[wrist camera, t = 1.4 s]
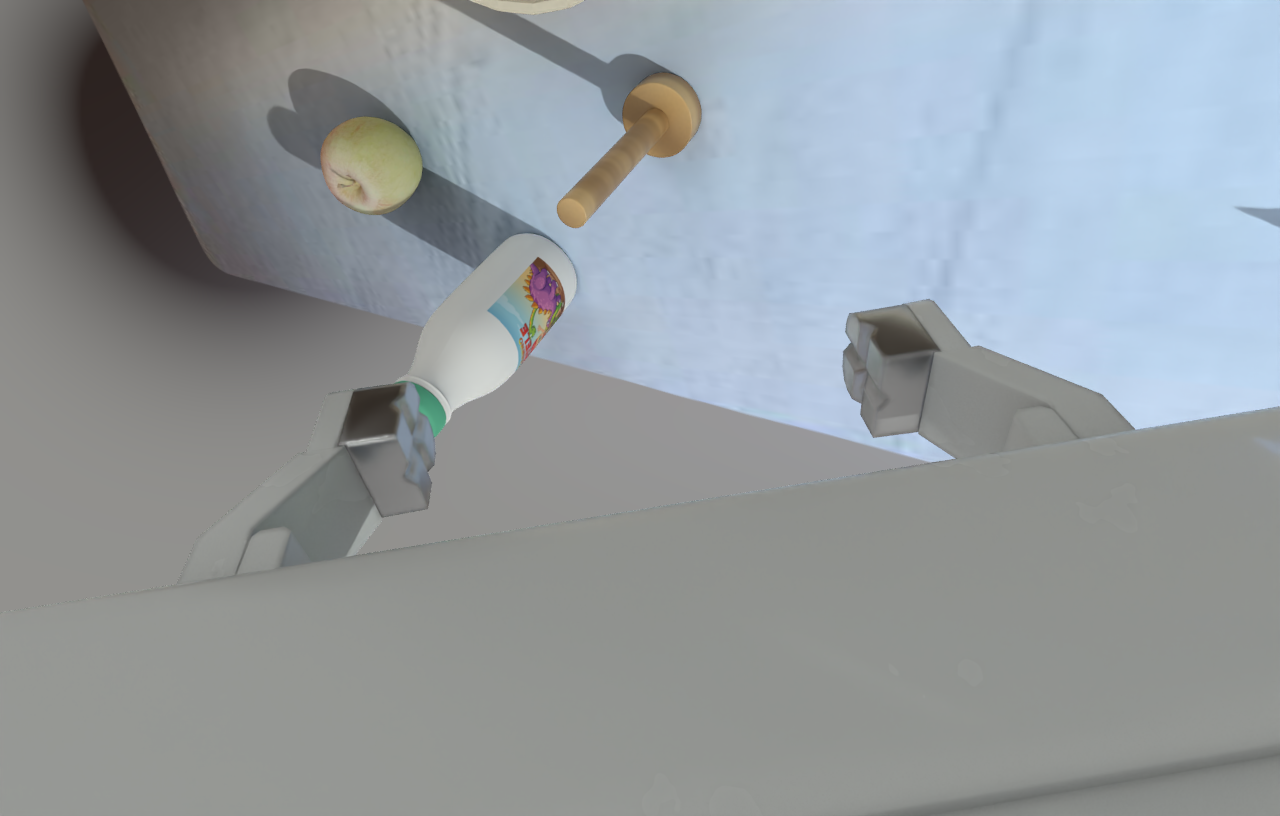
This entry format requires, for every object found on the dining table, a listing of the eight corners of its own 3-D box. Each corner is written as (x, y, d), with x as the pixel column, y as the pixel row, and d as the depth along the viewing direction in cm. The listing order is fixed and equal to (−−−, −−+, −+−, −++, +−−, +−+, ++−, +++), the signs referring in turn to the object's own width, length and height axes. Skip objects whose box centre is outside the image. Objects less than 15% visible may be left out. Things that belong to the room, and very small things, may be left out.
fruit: (380, 83, 57) (311, 122, 52) (450, 155, 59) (391, 200, 54) (346, 141, 62) (281, 183, 57) (412, 206, 64) (355, 251, 59)
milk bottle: (501, 289, 67) (366, 435, 54) (500, 217, 61) (349, 360, 48) (576, 318, 66) (457, 474, 53) (583, 247, 60) (451, 402, 47)
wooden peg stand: (650, 57, 48) (545, 151, 38) (714, 98, 48) (626, 203, 38) (622, 121, 51) (520, 222, 41) (682, 159, 52) (594, 269, 42)
